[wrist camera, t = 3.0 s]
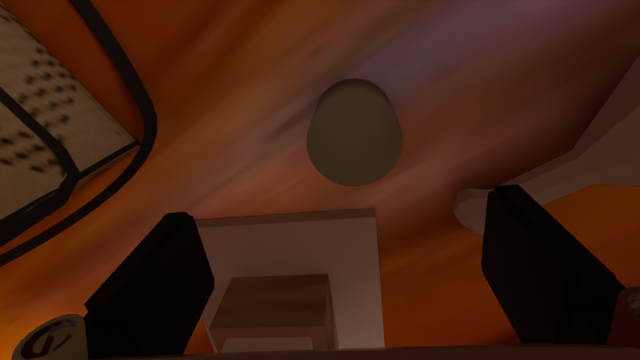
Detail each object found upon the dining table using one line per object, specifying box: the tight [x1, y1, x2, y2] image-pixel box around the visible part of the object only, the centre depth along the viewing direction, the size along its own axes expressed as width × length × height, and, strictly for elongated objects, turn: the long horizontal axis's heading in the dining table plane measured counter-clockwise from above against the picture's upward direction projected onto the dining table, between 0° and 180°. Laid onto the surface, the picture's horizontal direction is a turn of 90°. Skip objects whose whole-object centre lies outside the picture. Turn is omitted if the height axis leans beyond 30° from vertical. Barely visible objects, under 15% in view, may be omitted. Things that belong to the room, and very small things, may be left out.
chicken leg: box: [453, 56, 640, 234], centre depth 19 cm, size 8×18×8 cm, turn 132°
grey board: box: [195, 208, 384, 353], centre depth 29 cm, size 18×16×1 cm
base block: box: [209, 274, 339, 353], centre depth 27 cm, size 8×8×5 cm
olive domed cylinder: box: [307, 79, 402, 186], centre depth 20 cm, size 5×5×5 cm
